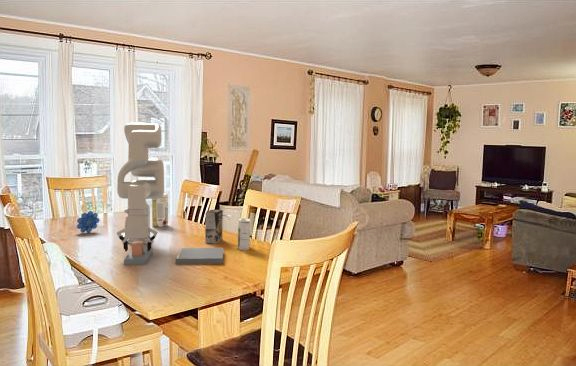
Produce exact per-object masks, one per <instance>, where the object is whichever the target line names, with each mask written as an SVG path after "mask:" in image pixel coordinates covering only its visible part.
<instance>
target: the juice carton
mask: <svg viewBox="0 0 576 366" xmlns="http://www.w3.org/2000/svg"><path fill="white" fill-rule="evenodd" d="M168 194H169V193H164V196H163V197H162V198H158V199H151V226H152V227H155V228H156V227H157V228H161V227H166V226H169V195H168Z"/></svg>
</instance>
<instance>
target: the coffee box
mask: <svg viewBox="0 0 576 366" xmlns="http://www.w3.org/2000/svg"><path fill="white" fill-rule="evenodd" d="M223 211H224V209H210V210H208V211H206V212H205V232H204V233H205V237H204V238H205V241H204V242H205V244H218V243H219V242H221V241H223V213H224V212H223Z"/></svg>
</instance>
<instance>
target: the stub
mask: <svg viewBox="0 0 576 366" xmlns="http://www.w3.org/2000/svg"><path fill="white" fill-rule="evenodd" d="M144 245H145V244H144V241H134V242H133V243H132V244H131V250H129V252H128V254H127V255H126V256H125V257H124V259H123V265H124V266H130V265H131V266H132V265H133V266H134V265H135V266H137V265H139V266H140V265H141V266H142V265H144V266H145V265H147V263H148V262H149V261H150V258H151V257H152V256H153V253H154V252H153V251H154V248H153V247H151V249H150V251H147V248H145V247H144Z"/></svg>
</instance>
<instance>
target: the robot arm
mask: <svg viewBox="0 0 576 366" xmlns="http://www.w3.org/2000/svg"><path fill="white" fill-rule="evenodd" d="M123 130H124V136H125V139H126V141H127V144H128V152H127V153H128V154H127V155H128V157H127V159H128V160H127V162H126V163H124V165H122V166H121V168H120V170H119V172H118V174H117V183H116V184H117V187H116V188H117V189H116V190H117V191H116V192H117V195H118V197H119V198H121V199H123V200H124V199H127V209H124V214H127V215H126V216H125V220H124V221H125V222H124V228H122V229H121V230H119V231H117V232H116V235H117V237H118V238H119V240H121V242H122V243H123V244H122V245H123V250H124V252H128V251H129V245H132V243H133V242H134V241H144V245H146V247H147V251H150V249H151V248H152V243H153V242H154V240H155V238H156V237H157V235H158V234H159V231H157V230H155V229H153V228H151V207H150V205H149V204H148V202H147V199H149V200H152V199H158V198H162V197H163V196H164V194H165V166H164V162H163V160H162V159H160V158H157V157H156V158H152V157H151V158H150V157H149V149H159V148H160V146H161V144H162V127H161V124H159V123H154V122H153V123H151V122H130V123H126V124H125V125H124V128H123ZM129 173H131V175H132V176H133V177H135V178H153V179H135V180H132V181H125V178H126V176H127V175H128V174H129ZM151 233H152V234H153V235H152V236H151Z"/></svg>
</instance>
